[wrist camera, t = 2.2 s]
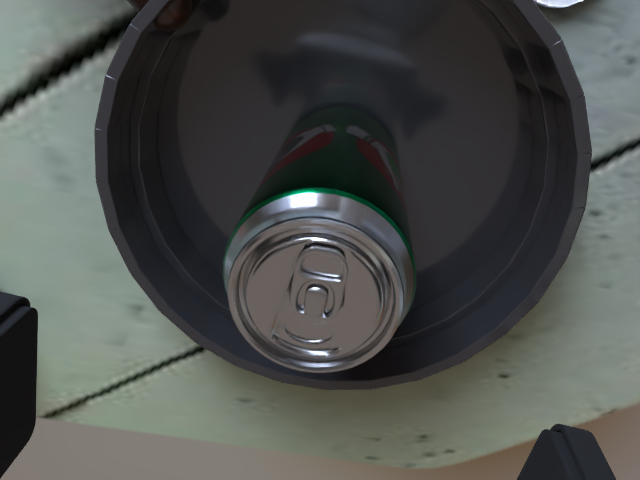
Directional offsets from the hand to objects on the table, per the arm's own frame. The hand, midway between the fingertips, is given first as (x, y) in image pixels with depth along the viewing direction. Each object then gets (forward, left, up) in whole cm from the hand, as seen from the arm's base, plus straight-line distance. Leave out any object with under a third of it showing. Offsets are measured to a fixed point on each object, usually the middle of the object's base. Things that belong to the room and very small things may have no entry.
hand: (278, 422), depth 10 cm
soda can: (0, 0, -16) cm, 16 cm away
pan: (0, 0, -16) cm, 16 cm away
